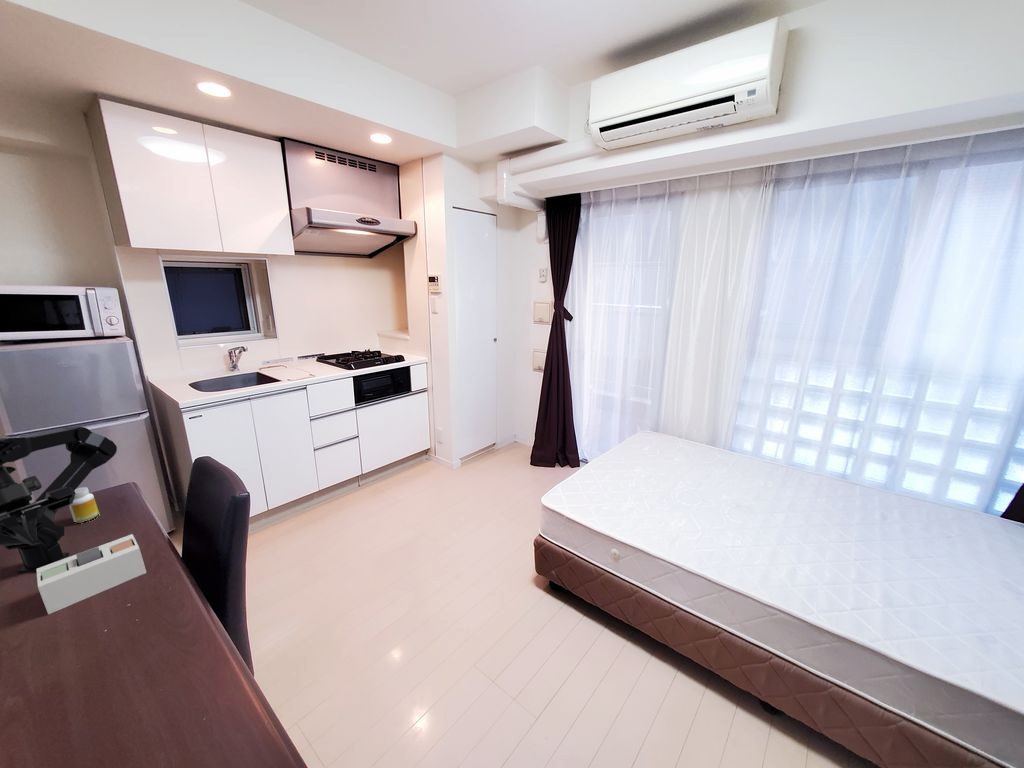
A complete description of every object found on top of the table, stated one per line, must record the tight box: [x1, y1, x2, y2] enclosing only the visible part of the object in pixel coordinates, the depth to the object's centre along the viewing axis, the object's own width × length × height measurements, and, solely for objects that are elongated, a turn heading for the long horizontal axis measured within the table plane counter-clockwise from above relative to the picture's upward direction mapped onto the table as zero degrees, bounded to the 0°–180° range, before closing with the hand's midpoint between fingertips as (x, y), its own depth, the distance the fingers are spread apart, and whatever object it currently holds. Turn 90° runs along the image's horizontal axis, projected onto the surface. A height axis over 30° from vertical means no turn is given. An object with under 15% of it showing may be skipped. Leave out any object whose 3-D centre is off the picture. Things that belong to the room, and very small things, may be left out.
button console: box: [36, 533, 147, 615], centre depth 93 cm, size 9×16×7 cm, turn 141°
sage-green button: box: [42, 564, 68, 580], centre depth 88 cm, size 4×4×2 cm
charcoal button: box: [75, 546, 102, 566], centre depth 92 cm, size 4×4×2 cm
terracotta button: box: [111, 540, 133, 553], centre depth 96 cm, size 4×4×2 cm
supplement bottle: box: [68, 487, 100, 523], centre depth 119 cm, size 5×5×10 cm
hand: (35, 543), depth 88 cm, fingers closed
